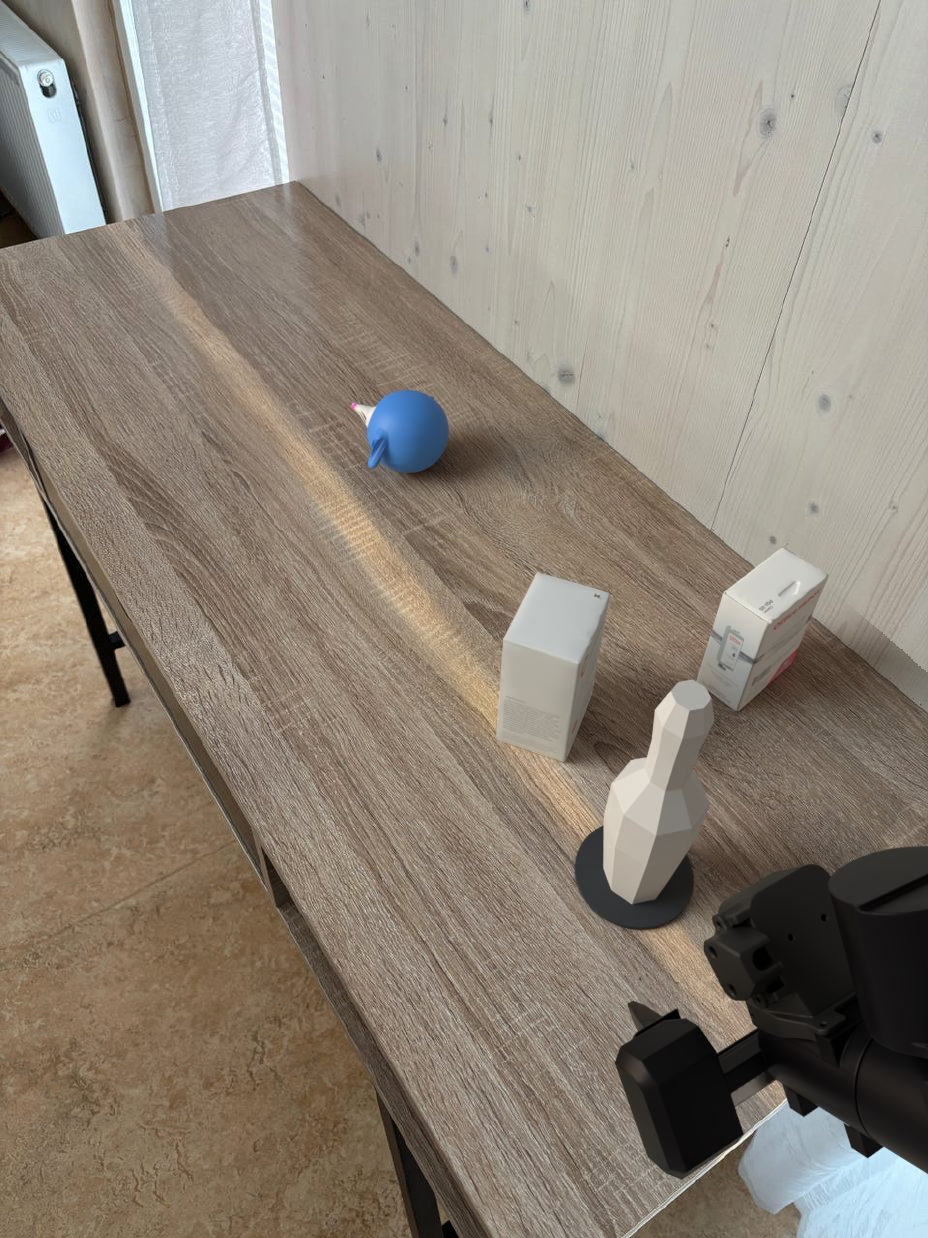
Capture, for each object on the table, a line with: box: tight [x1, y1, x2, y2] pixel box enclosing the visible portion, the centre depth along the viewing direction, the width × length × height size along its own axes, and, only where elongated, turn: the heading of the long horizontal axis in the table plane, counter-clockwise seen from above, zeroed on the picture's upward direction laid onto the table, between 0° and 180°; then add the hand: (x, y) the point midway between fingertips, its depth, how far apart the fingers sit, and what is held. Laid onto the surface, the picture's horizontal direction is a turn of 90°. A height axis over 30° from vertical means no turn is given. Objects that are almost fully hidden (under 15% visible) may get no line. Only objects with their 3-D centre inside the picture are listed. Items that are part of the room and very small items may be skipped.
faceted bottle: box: [603, 679, 715, 904], centre depth 69 cm, size 6×6×22 cm
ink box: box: [696, 547, 830, 712], centre depth 87 cm, size 9×5×12 cm, turn 133°
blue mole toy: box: [350, 389, 450, 474], centre depth 108 cm, size 12×12×8 cm
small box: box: [495, 571, 611, 763], centre depth 82 cm, size 8×6×13 cm
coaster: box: [574, 824, 695, 931], centre depth 77 cm, size 9×9×1 cm
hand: (697, 971), depth 58 cm, fingers open, 9 cm apart
